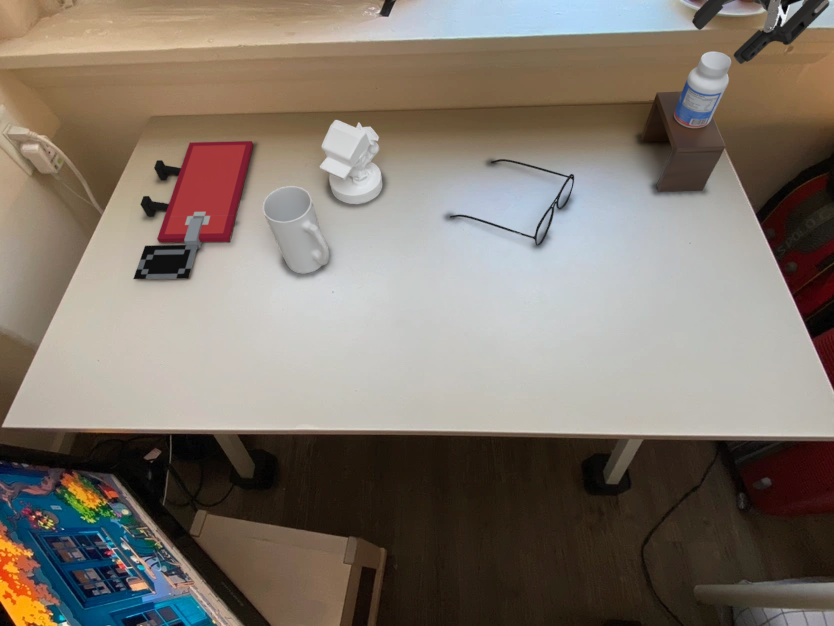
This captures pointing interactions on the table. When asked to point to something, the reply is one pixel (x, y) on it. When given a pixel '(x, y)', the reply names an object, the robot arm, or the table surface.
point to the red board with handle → (195, 206)
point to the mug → (296, 228)
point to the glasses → (545, 212)
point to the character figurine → (352, 162)
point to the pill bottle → (703, 90)
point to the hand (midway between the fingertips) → (715, 42)
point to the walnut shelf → (682, 146)
